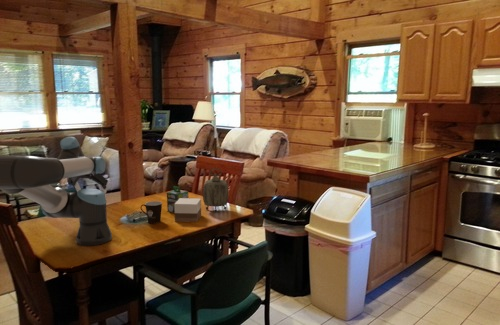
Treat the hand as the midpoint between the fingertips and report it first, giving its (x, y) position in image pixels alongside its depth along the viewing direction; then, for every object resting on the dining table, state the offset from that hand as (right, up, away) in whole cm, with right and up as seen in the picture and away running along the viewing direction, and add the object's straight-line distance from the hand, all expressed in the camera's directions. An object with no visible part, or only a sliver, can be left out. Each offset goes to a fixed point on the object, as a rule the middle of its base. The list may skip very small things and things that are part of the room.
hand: (92, 192), depth 204 cm
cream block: (+50, -10, +6) cm, 51 cm away
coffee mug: (+31, -16, +2) cm, 35 cm away
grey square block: (+49, -15, +7) cm, 52 cm away
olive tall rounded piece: (+63, -13, +21) cm, 68 cm away
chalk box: (+41, -13, +21) cm, 48 cm away
